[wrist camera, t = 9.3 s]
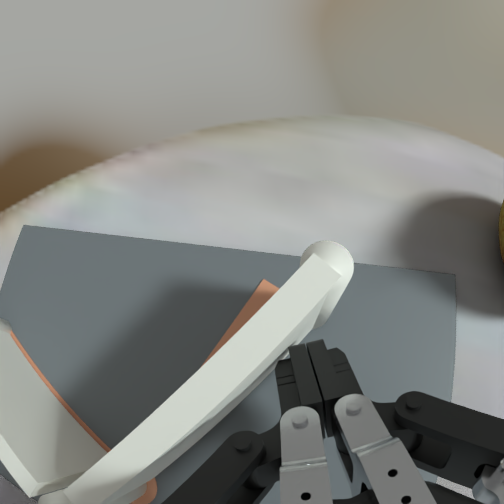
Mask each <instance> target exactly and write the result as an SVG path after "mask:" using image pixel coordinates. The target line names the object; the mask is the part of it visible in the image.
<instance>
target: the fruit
mask: <svg viewBox="0 0 504 504" xmlns="http://www.w3.org/2000/svg"><path fill="white" fill-rule="evenodd" d="M499 243H500V251H501V257H502V260H503V263H504V200H503V204H502V207H501V211H500V215H499Z"/></svg>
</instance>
